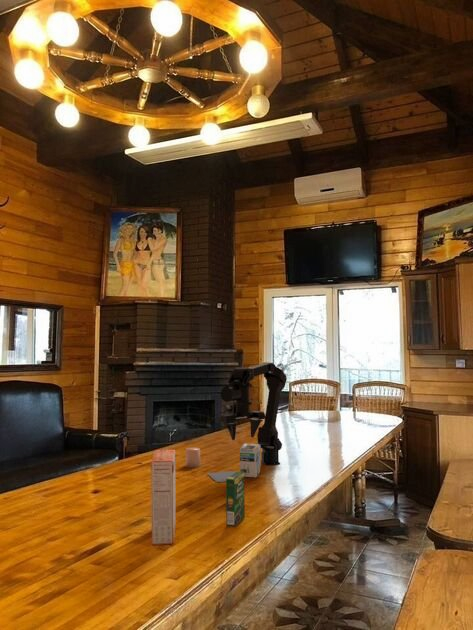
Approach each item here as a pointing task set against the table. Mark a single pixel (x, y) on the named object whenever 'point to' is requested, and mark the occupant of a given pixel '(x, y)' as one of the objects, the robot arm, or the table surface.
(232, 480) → the coffee box
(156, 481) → the cracker box
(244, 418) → the robot arm
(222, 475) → the mat
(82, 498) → the table surface
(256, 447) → the light bulb box
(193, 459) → the pink rounded capsule
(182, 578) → the table surface
